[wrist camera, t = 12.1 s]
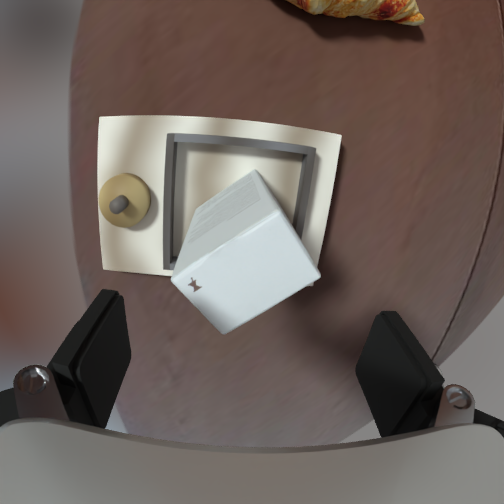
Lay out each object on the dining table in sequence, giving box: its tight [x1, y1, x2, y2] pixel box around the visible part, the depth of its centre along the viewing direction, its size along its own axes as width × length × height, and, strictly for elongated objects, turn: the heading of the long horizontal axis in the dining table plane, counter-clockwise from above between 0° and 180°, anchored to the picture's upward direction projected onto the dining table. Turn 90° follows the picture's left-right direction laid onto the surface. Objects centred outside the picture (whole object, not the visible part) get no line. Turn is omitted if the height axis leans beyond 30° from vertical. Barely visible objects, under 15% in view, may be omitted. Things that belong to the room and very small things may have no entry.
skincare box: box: [171, 169, 321, 334], centre depth 19 cm, size 6×4×12 cm
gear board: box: [98, 116, 342, 286], centre depth 24 cm, size 20×14×5 cm
